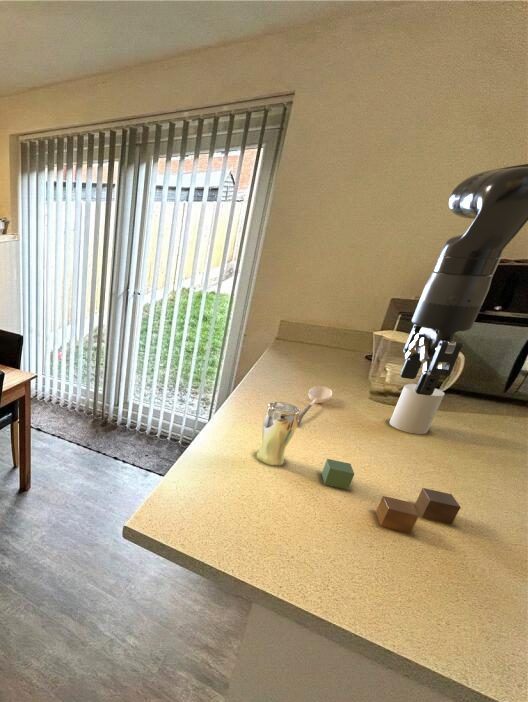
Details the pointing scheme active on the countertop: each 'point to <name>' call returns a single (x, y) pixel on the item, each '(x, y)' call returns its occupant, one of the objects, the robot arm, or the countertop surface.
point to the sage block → (337, 474)
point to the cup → (415, 410)
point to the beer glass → (277, 431)
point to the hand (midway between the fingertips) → (414, 385)
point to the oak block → (396, 514)
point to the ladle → (316, 398)
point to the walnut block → (437, 506)
